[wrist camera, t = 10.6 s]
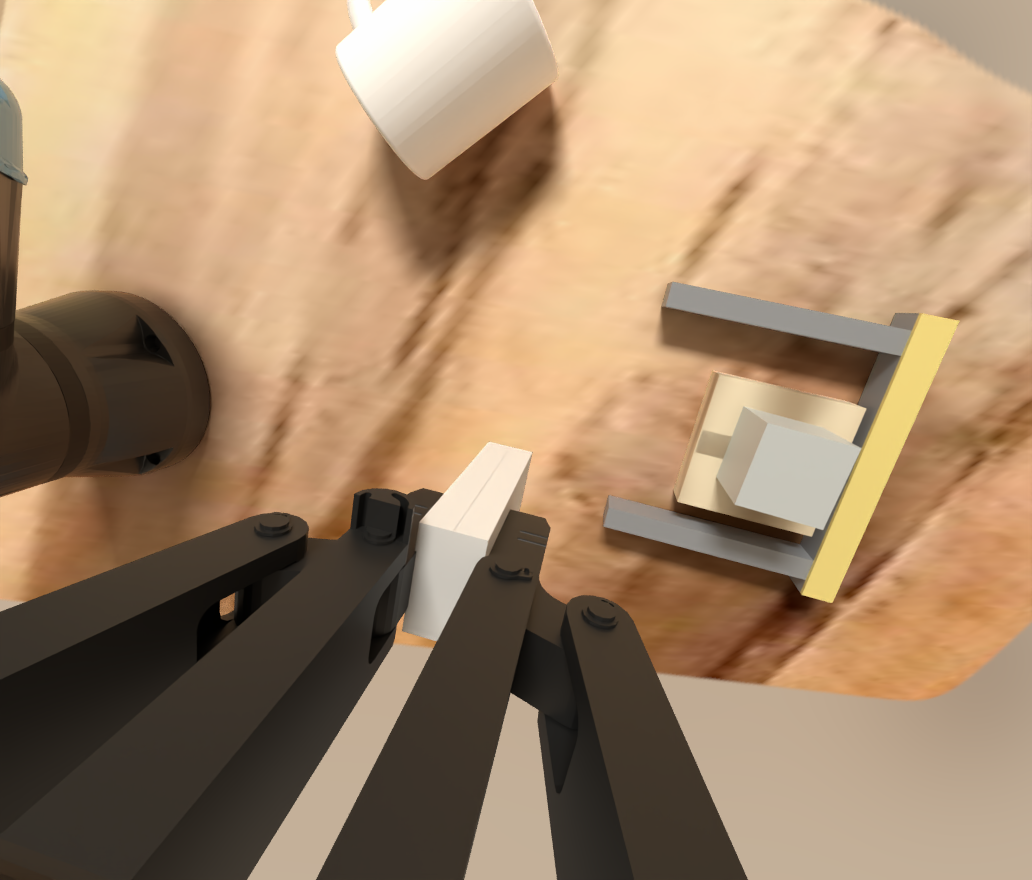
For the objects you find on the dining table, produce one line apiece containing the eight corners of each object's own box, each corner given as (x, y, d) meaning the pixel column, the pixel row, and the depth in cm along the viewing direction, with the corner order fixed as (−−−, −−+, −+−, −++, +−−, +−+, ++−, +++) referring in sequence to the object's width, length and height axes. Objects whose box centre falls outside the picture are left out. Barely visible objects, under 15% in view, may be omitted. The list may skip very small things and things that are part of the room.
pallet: (672, 486, 37) (677, 501, 34) (710, 369, 35) (719, 374, 32) (795, 518, 36) (811, 536, 33) (844, 399, 34) (866, 408, 31)
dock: (600, 524, 38) (599, 540, 36) (672, 268, 33) (677, 264, 30) (815, 581, 36) (832, 603, 34) (929, 320, 31) (959, 320, 28)
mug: (565, 99, 32) (552, 32, 24) (440, 194, 34) (392, 161, 27) (466, -87, 30) (418, -222, 22) (343, 28, 33) (263, -57, 25)
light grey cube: (716, 476, 33) (734, 504, 29) (743, 406, 32) (767, 422, 27) (791, 498, 33) (822, 530, 28) (822, 427, 31) (861, 448, 27)
